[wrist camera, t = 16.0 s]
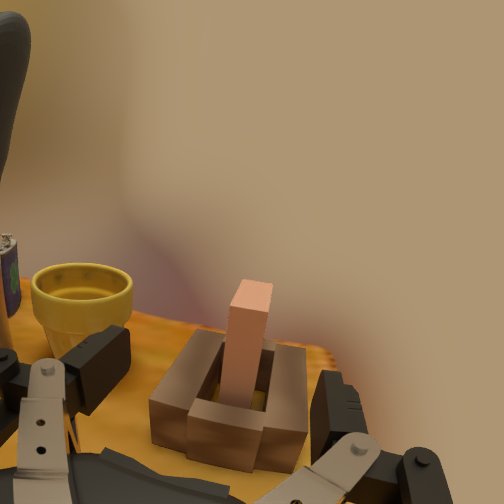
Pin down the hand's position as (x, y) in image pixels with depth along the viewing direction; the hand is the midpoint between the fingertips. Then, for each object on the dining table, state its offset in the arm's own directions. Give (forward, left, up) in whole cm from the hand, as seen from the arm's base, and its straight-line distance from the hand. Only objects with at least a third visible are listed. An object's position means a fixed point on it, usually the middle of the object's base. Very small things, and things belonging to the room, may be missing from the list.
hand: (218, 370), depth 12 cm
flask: (-35, +17, -13) cm, 41 cm away
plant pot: (-16, +12, -13) cm, 24 cm away
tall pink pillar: (0, +11, -13) cm, 17 cm away
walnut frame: (0, +11, -13) cm, 17 cm away
